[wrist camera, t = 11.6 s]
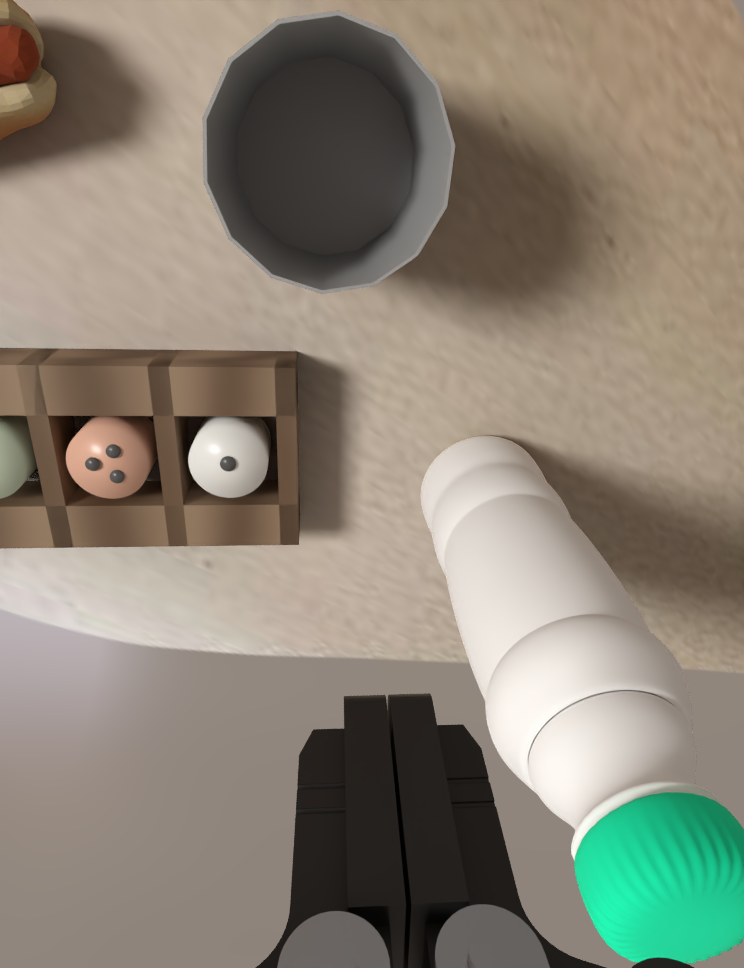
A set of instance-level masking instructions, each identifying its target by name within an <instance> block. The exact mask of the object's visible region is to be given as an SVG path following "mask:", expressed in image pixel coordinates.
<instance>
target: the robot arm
mask: <svg viewBox="0 0 744 968" xmlns="http://www.w3.org/2000/svg"><path fill="white" fill-rule="evenodd" d="M256 968H605V967H602V966H599V965H596V964H593V963H589V962H586V961H583V960H580V959H577V958H575V957H572V956H569V955H568V954H566V953H564V952H562V951H560V950H558V949H557V948H556V947H554V946H553V945H551V944H550V943H549V942H548V941H547V940H546V939H545V938H544V937H542V936H541V935H540V934H539V932H538V931H537V930H536V929H535V928H534V926H533V925H532V924H531V922H530V921H529V919H528V917H527V916H526V914H525V912H524V910H523V908H522V905H521V902H520V899H519V896H518V893H517V888H516V884H515V880H514V876H513V872H512V868H511V864H510V861H509V857H508V853H507V849H506V845H505V841H504V837H503V833H502V829H501V825H500V821H499V817H498V813H497V809H496V807H495V804H494V797H493V793H492V790H491V785H490V783H489V781H488V774H487V769H486V765H485V762H484V758H483V754H482V750H481V748H480V746H479V745H478V744H477V742H476V741H475V740H474V739H473V737H472V736H471V735H470V733H469V732H468V731H467V729H466V728H465V727H464V725H437V723H436V718H435V713H434V707H433V701H432V697H431V695H430V694H398V695H388V710H387V703H386V696H385V695H373V696H372V695H370V696H344V729H319V730H318V729H317V730H313V731H312V733H311V735H310V737H309V738H308V740H307V742H306V744H305V746H304V747H303V749H302V751H301V753H300V755H299V769H298V790H297V802H296V819H295V837H294V852H293V870H292V887H291V904H290V914H289V919H288V922H287V926H286V929H285V931H284V934H283V935H282V938H281V939H280V941H279V943H278V944H277V946H276V948H275V949H274V950H273V951H272V952H271V954H270V955H269V956H268V957H267V958H266V959H265V960H264V961H263V962H262V963H261V964H260V965H259V966H257V967H256ZM632 968H694V967H692V966H690V965H688V964H685V963H683V962H681V961H678V960H674V959H670V958H661V957H657V958H649V959H646V960H643V961H640V962H639V963H637V964H636V965H634V966H633V967H632Z"/></svg>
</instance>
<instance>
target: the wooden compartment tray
mask: <svg viewBox="0 0 744 968" xmlns="http://www.w3.org/2000/svg"><path fill="white" fill-rule="evenodd" d="M0 415H21V416H27V421H28V425H29V430H30V435H31V440H32V444H33V449H34V454H35V458H36V463H37V468H38V473H39V477H40V481H25V482H24V483H23V485H22V486H21V487H20V488H19V489H18V490H17V491H16V492H15V493H13V494H12V495H10V496H8V497H5V498H1V499H0V548H66V547H148V546H229V545H299V528H300V494H299V439H298V385H297V352H295V351H209V350H123V349H37V348H0ZM72 416H153V419H154V427H155V435H156V443H157V452H158V460H159V468H160V476H161V481H145V482H144V484H143V485H142V486H141V487H140V489H138V490H137V491H136V492H134V493H133V494H131V495H129V496H126V497H123V498H116V499H110V498H102V497H99V496H96V495H93V494H91V493H89V492H87V491H86V490H84V489H83V488H82V487H80V486H79V485H78V484H77V483H76V482H75V480H74V479H73V478H72V476H71V475H70V473H69V470H68V468H67V464H66V452H67V448H68V445H69V443H70V442H71V440H72V439H73V438H74V437H75V429H74V424H73V418H72ZM187 416H276V428H277V457H278V480H263V482H262V483H261V484H260V486H259V487H258V488H256V489H255V490H254V491H252V492H251V493H249V494H247V495H244V496H241V497H236V498H225V497H220V496H216V495H214V494H211V493H209V492H207V491H206V490H204V489H203V488H202V487H201V486H200V485H199V484H198V483H197V482H196V481H195V480H193V476H192V474H191V472H190V469H189V464H188V457H189V452H190V445H189V435H188V425H187Z"/></svg>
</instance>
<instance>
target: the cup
mask: <svg viewBox="0 0 744 968" xmlns="http://www.w3.org/2000/svg"><path fill="white" fill-rule="evenodd" d="M454 152H455V142H454V139H453V135H452V132H451V128H450V124H449V121H448V117H447V113H446V110H445V106H444V103H443V99H442V95H441V92H440V88H439V84H438V83H437V82H436V80H435V79H434V78H433V77H432V76H431V74H430V73H429V72H428V71H427V70H426V68H425V67H424V66H423V65H422V64H421V62H420V61H419V60H418V59H417V58H416V56H415V55H414V54H413V53H412V52H411V51H410V49H409V48H408V47H407V46H406V45H405V43H404V42H403V41H402V40H401V39H400V37H399V36H398V35H397V34H395V33H393V32H390V31H388V30H385V29H383V28H380V27H378V26H376V25H373V24H371V23H368V22H366V21H363V20H361V19H359V18H356V17H354V16H351V15H349V14H347V13H344V12H342V11H339V10H338V11H331V12H324V13H317V14H310V15H303V16H296V17H289V18H282V19H277V20H276V21H275V22H274V23H272V24H271V25H270V26H269V27H267V28H266V29H265V30H264V31H262V32H261V33H260V34H259V35H257V36H256V37H255V38H254V39H252V40H251V41H250V42H249V43H247V44H246V45H245V46H244V47H242V48H241V49H240V50H239V51H237V52H236V53H235V54H234V55H232V56H231V57H230V58H229V59H228V61H227V63H226V66H225V68H224V70H223V72H222V75H221V77H220V79H219V82H218V84H217V86H216V88H215V91H214V93H213V95H212V98H211V100H210V102H209V104H208V107H207V109H206V111H205V114H204V116H203V178H204V185H205V187H206V189H207V191H208V194H209V196H210V198H211V200H212V203H213V205H214V207H215V209H216V212H217V214H218V216H219V218H220V221H221V223H222V225H223V227H224V230H225V232H226V234H227V236H228V239H229V240H230V241H232V242H233V243H234V244H235V245H236V246H237V247H238V248H239V249H240V250H241V251H242V252H244V253H245V254H246V255H247V256H248V257H249V258H250V259H251V260H252V261H253V262H254V263H255V264H257V265H258V266H259V267H260V268H261V269H262V270H263V271H264V272H265V273H266V274H267V275H269V276H270V277H271V278H274V279H277V280H280V281H283V282H286V283H289V284H292V285H296V286H299V287H302V288H305V289H308V290H311V291H314V292H317V293H321V294H325V293H332V292H338V291H345V290H352V289H359V288H365V287H372V286H375V285H376V284H378V283H379V282H381V281H382V280H383V279H385V278H386V277H388V276H389V275H391V274H392V273H394V272H395V271H397V270H398V269H399V268H401V267H402V266H404V265H405V264H407V263H408V262H410V261H411V260H413V259H414V258H415V257H417V256H418V255H419V253H420V251H421V250H422V248H423V246H424V245H425V243H426V241H427V240H428V238H429V236H430V235H431V233H432V231H433V230H434V228H435V226H436V225H437V223H438V221H439V220H440V218H441V216H442V215H443V213H444V211H445V210H446V208H447V205H448V197H449V190H450V182H451V175H452V167H453V160H454Z"/></svg>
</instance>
